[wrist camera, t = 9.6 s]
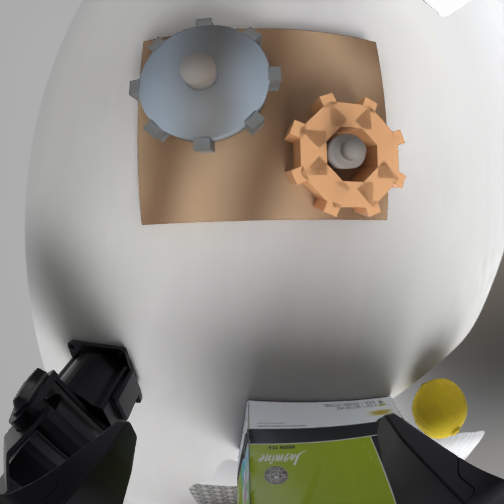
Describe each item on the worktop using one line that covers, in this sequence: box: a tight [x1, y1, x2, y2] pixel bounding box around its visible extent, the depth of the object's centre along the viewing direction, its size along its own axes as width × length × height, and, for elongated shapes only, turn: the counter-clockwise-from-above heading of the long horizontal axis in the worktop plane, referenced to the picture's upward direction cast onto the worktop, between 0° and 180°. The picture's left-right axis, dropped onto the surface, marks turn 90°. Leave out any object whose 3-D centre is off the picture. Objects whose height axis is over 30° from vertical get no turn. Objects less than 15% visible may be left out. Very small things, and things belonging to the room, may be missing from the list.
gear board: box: [129, 18, 388, 225], centre depth 13 cm, size 16×13×5 cm
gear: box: [284, 93, 406, 217], centre depth 14 cm, size 7×7×2 cm
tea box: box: [237, 397, 404, 504], centre depth 16 cm, size 15×10×15 cm
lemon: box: [412, 378, 467, 439], centre depth 18 cm, size 6×6×8 cm
